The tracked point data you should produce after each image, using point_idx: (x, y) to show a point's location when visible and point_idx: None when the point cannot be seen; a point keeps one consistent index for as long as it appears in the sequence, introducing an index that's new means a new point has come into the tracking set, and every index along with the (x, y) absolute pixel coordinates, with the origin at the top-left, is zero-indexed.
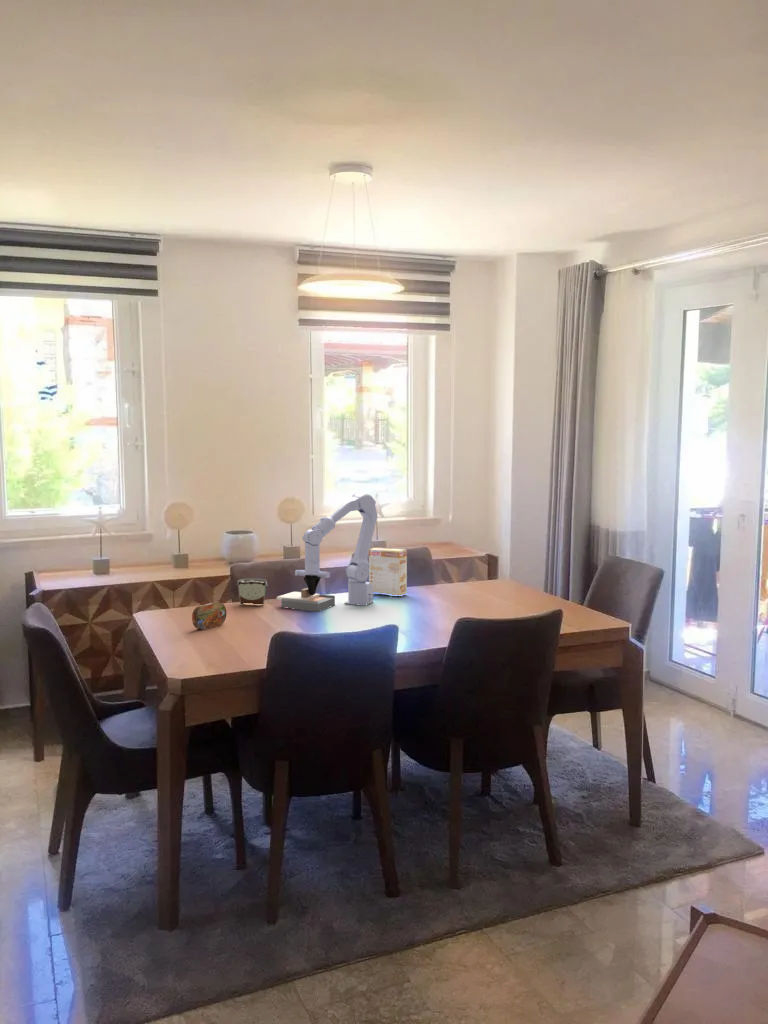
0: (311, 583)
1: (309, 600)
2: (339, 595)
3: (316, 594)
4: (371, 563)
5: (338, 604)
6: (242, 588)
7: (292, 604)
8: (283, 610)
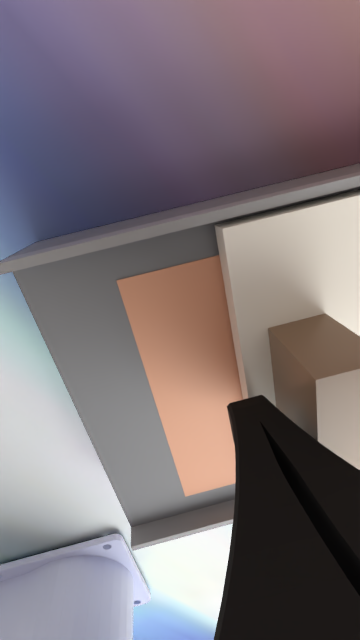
0: (286, 537)
1: (222, 337)
2: None
3: None
4: None
5: None
6: None
7: (329, 174)
8: (351, 60)
